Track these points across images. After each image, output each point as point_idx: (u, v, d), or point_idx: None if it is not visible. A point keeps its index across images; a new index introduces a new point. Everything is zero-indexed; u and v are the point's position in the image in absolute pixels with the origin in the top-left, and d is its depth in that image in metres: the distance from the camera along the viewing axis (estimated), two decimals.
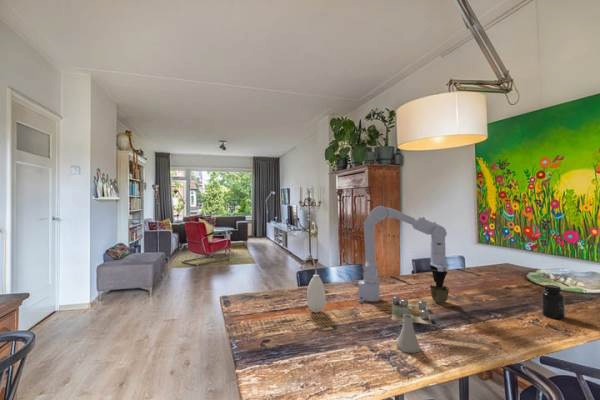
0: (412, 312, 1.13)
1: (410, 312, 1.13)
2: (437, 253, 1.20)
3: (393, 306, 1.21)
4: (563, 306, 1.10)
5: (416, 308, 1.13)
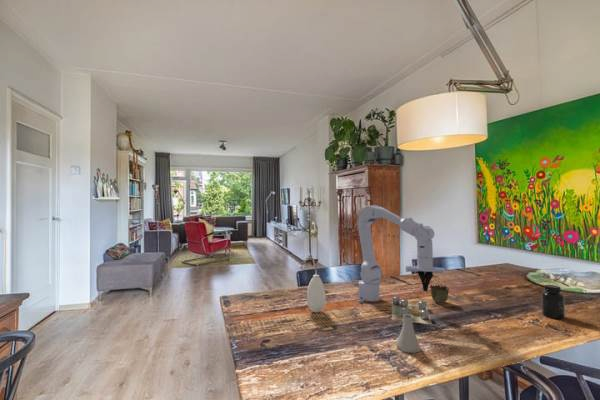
0: (412, 312, 1.13)
1: (410, 312, 1.13)
2: (420, 256, 1.13)
3: (393, 306, 1.21)
4: (563, 306, 1.10)
5: (416, 308, 1.13)
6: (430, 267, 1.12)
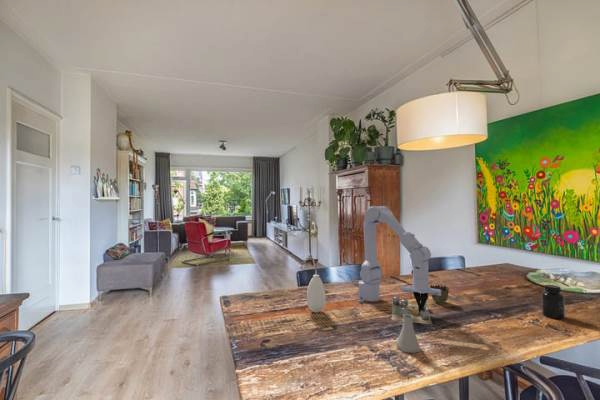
0: (412, 312, 1.13)
1: (410, 312, 1.13)
2: (415, 277, 1.12)
3: (393, 306, 1.21)
4: (563, 306, 1.10)
5: (416, 308, 1.13)
6: (426, 288, 1.11)
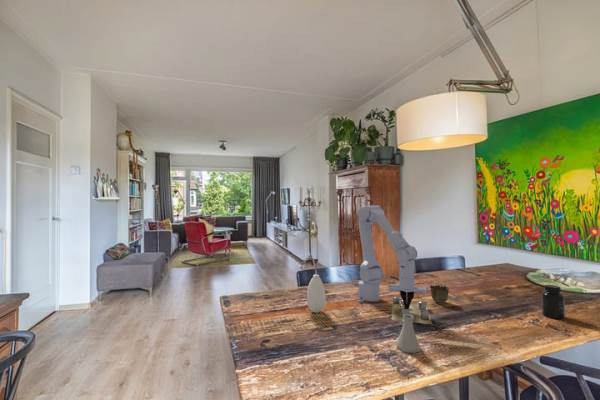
0: (398, 311, 1.14)
1: (396, 311, 1.14)
2: (401, 276, 1.14)
3: (393, 306, 1.21)
4: (563, 306, 1.10)
5: (402, 307, 1.15)
6: (411, 287, 1.12)
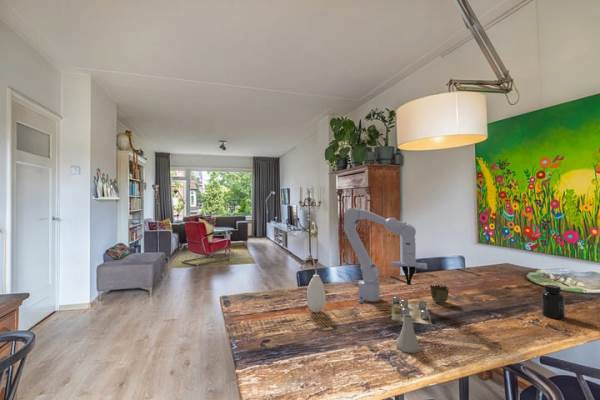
0: (398, 311, 1.14)
1: (396, 311, 1.14)
2: (406, 253, 1.22)
3: (393, 306, 1.21)
4: (563, 306, 1.10)
5: (402, 307, 1.15)
6: (413, 262, 1.21)
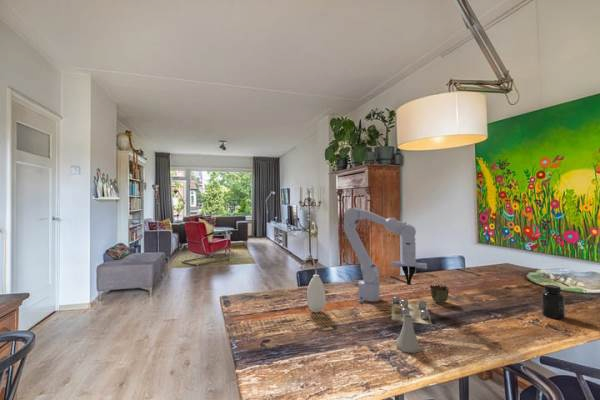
0: (398, 311, 1.14)
1: (396, 311, 1.14)
2: (406, 253, 1.22)
3: (393, 306, 1.21)
4: (563, 306, 1.10)
5: (402, 307, 1.15)
6: (413, 262, 1.22)
